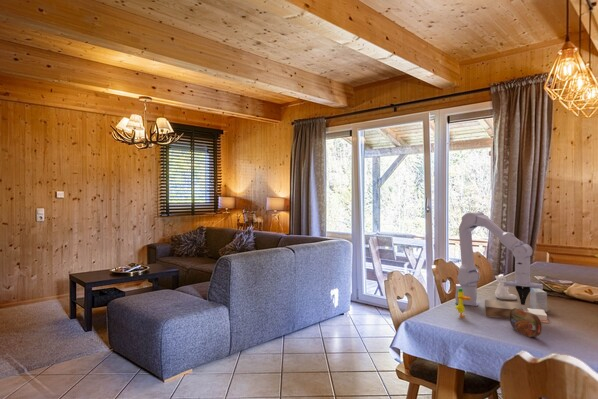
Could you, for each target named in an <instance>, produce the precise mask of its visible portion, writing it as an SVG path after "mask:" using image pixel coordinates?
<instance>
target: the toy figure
mask: <svg viewBox="0 0 598 399" xmlns="http://www.w3.org/2000/svg"><path fill="white" fill-rule="evenodd" d="M457 298H458V300H459V304H456V305H454V307H455V309H456V310H457V311H458V314H459V317H460V318H466V315H465V314H464V312H465V311H466V310H465V305H463V300H470V299H471V298H470V297H467V296H463V291H462V288H459V291H458V297H457Z"/></svg>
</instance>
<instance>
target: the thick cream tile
mask: <svg viewBox="0 0 598 399" xmlns="http://www.w3.org/2000/svg"><path fill="white" fill-rule="evenodd" d="M526 311H528V312H530V313H533V314H535V315H537V316H538V318H539V319H540V320H548V315H547V312H545V311H544V310H542V309H533V308H532V307H529V308H528V307H527V310H526Z"/></svg>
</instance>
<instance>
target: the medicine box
mask: <svg viewBox="0 0 598 399" xmlns="http://www.w3.org/2000/svg"><path fill="white" fill-rule="evenodd" d="M529 308H532V309H542V310H544V311H545V313H547V312H548V292H547V291H544V290H543V289H536V288H530V292H529Z"/></svg>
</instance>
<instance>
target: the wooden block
mask: <svg viewBox="0 0 598 399" xmlns="http://www.w3.org/2000/svg"><path fill="white" fill-rule="evenodd" d="M514 308H517V309H523V307H522V305H521V302H514V301H504V300H503V301H501V300H494V299H493V300H492V299H484V311H485V314H484V315H485V317H491V318H492V317H493V318H500V319H501V318H503V319H510V317H509V316H510V312H511V310H512V309H514Z"/></svg>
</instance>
